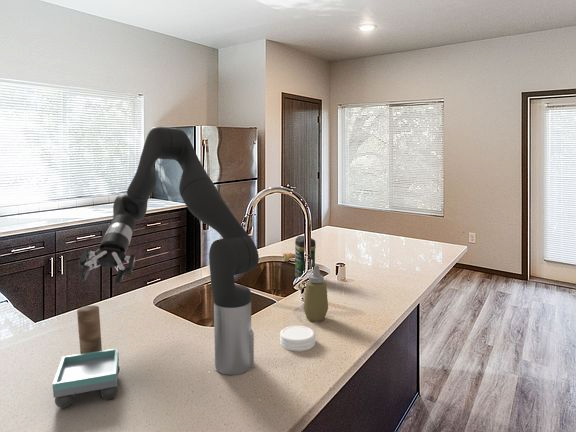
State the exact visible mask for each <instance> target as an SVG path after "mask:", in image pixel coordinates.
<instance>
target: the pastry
mask: <svg viewBox="0 0 576 432" xmlns="http://www.w3.org/2000/svg"><path fill="white" fill-rule="evenodd" d="M282 257H284V260H283V259H282V261H284V262H285V261H288V260H289V258H295V253H291V252H290V253H288V252H287V253H283V254H282Z"/></svg>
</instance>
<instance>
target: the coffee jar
mask: <svg viewBox="0 0 576 432" xmlns="http://www.w3.org/2000/svg"><path fill="white" fill-rule="evenodd" d="M304 236H305V235H298V236H297V237H296V238H295V241H294V243H295V244H294V245H295V247H294V248H295V249H294V250H295V253H294V254H295V262H294V265H295V266H294V276H295V278H296V279H297V278H298V277H300V276H301V275H302V274H303V271H304ZM310 238H311V237H310ZM316 245H317V244H316V240H315V239H314V238H311V260H312V267H313V270H314V267H315V265H316Z"/></svg>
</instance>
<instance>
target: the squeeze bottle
mask: <svg viewBox="0 0 576 432" xmlns="http://www.w3.org/2000/svg"><path fill="white" fill-rule="evenodd" d="M319 266H320V265H318V264H315V267H314V271H313V275H310V276H309V282H306V283H305V284H306V285H305V292H304V298H303V300H304V302H303V311H304V315H305V317H306V319H307V320H309V322H310V321H311V322H316V323H317V322H322V321H324V320H325V319H326V315H327V313H328V310H329V303H328V302H329V301H328V300H329V299H328V290H327V289H328V287H327V283H326V282H324V278H325V277H324V275H322V274H321V271H320V267H319Z"/></svg>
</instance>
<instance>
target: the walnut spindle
mask: <svg viewBox="0 0 576 432" xmlns="http://www.w3.org/2000/svg"><path fill="white" fill-rule="evenodd" d="M76 313H77V327H78V328H77V329H78V338H79V352H80V353H79V354H83V353H90V352H97V351H103V348H102V347H103V346H102V335H101V334H102V333H101V332H102V331H101V319H100V307H99V306H98V305H85V306H82V307H80V308H77V310H76Z"/></svg>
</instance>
